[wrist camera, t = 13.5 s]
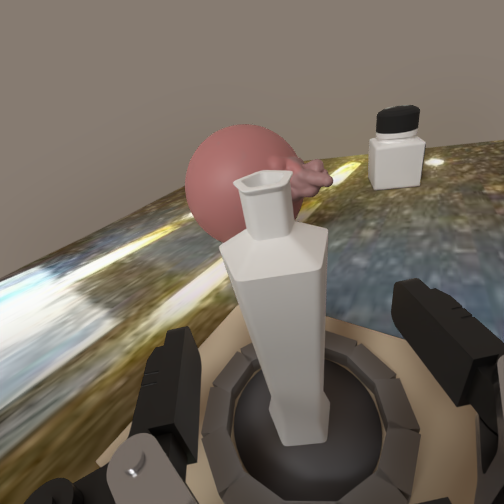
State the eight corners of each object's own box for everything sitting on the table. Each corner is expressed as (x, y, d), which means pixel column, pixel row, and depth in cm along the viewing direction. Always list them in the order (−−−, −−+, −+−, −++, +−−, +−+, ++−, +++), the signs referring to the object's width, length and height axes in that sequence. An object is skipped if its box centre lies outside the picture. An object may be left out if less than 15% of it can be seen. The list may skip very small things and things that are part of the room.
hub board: (106, 472, 18) (86, 452, 17) (251, 303, 29) (246, 283, 28) (527, 938, 7) (570, 992, 6) (503, 385, 18) (515, 358, 17)
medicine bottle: (420, 186, 46) (431, 105, 40) (373, 191, 48) (377, 114, 42) (409, 173, 52) (417, 100, 46) (367, 177, 54) (370, 108, 48)
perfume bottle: (248, 429, 17) (168, 200, 10) (284, 373, 20) (245, 161, 12) (318, 477, 15) (286, 215, 7) (348, 405, 18) (348, 161, 10)
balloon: (294, 298, 29) (274, 142, 21) (182, 252, 42) (143, 143, 34) (361, 231, 38) (364, 103, 30) (251, 210, 51) (233, 116, 43)
